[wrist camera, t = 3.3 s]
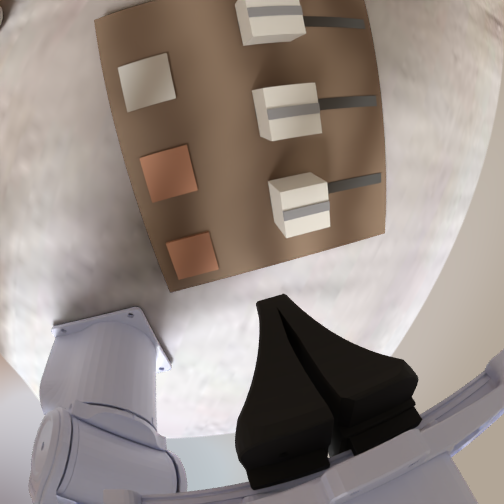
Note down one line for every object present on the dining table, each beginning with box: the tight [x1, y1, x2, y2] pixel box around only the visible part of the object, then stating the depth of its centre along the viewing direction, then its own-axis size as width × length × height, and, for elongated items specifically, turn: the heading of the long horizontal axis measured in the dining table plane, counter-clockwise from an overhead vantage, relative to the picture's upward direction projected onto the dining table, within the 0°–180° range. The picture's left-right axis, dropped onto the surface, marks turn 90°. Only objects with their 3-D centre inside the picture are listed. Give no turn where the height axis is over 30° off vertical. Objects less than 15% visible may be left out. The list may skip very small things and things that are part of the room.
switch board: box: [94, 0, 386, 292], centre depth 18 cm, size 18×20×1 cm
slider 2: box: [268, 172, 330, 238], centre depth 19 cm, size 3×3×3 cm
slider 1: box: [235, 0, 306, 46], centre depth 13 cm, size 3×3×3 cm
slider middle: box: [252, 83, 322, 141], centre depth 16 cm, size 3×3×3 cm
